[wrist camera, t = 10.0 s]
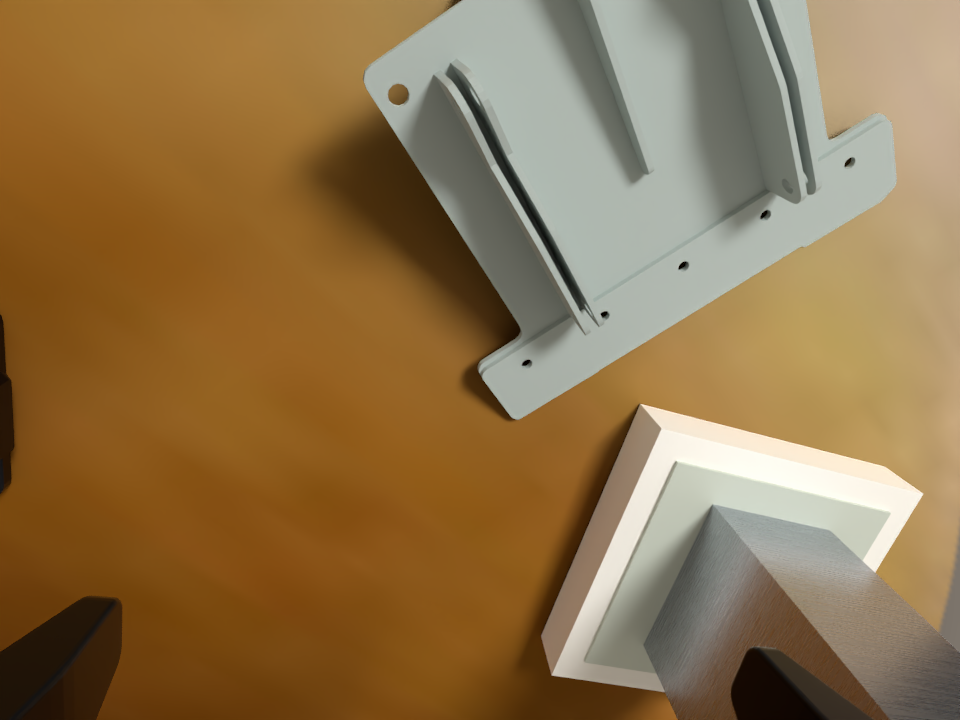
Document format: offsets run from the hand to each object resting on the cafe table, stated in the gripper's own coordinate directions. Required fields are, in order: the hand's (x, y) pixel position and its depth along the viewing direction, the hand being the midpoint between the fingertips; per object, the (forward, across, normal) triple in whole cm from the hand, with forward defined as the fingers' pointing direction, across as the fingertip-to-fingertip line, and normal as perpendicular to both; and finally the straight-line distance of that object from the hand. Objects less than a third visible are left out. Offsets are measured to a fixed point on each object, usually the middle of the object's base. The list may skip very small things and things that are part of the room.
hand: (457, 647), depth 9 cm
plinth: (+13, -13, +7) cm, 20 cm away
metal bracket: (+14, -5, -7) cm, 16 cm away
